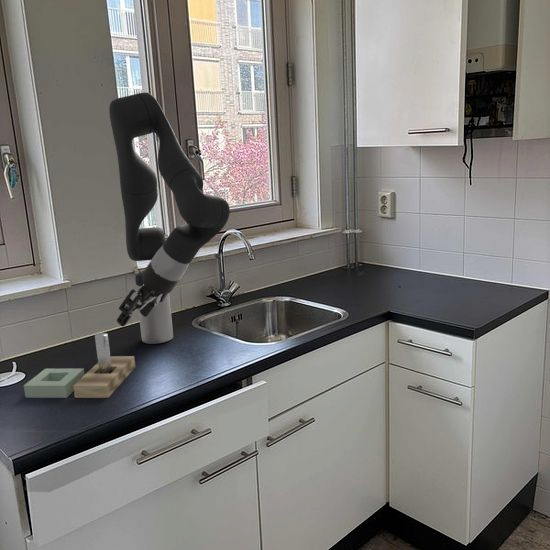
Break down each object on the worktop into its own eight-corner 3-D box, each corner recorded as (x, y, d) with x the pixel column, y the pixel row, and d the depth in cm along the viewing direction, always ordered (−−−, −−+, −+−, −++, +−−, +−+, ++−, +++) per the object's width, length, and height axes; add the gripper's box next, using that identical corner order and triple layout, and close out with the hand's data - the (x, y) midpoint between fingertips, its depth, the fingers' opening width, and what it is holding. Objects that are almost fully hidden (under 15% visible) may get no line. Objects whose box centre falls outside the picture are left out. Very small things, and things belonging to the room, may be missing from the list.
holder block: (47, 379, 139) (45, 368, 139) (85, 379, 138) (83, 368, 138) (25, 397, 130) (23, 385, 129) (66, 397, 129) (64, 385, 128)
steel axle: (103, 379, 138) (97, 333, 135) (115, 379, 138) (109, 332, 135) (98, 384, 135) (92, 337, 133) (110, 384, 135) (104, 337, 132)
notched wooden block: (105, 367, 146) (104, 356, 145) (135, 367, 145) (134, 356, 144) (74, 397, 128) (73, 385, 128) (108, 397, 127) (106, 385, 127)
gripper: (172, 252, 130) (139, 300, 137) (135, 262, 117) (100, 315, 124) (195, 273, 129) (160, 321, 135) (160, 286, 116) (123, 338, 122)
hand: (131, 318), depth 130 cm, fingers open, 8 cm apart
